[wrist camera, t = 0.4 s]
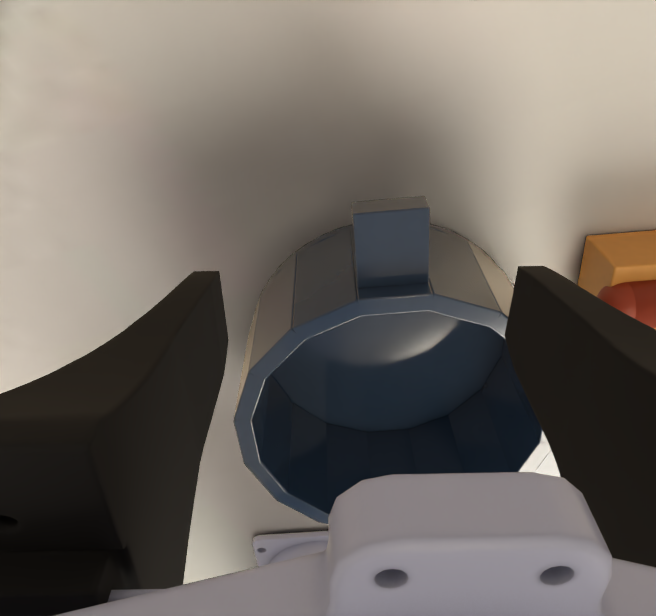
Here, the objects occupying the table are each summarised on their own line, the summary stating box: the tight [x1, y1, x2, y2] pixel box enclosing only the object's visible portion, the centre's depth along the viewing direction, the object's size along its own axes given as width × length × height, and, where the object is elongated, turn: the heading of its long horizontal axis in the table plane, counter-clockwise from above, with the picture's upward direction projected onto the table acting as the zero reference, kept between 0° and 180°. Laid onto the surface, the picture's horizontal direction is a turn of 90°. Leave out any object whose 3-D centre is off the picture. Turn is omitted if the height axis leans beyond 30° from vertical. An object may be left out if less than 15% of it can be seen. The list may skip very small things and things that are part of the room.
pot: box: [234, 196, 551, 524], centre depth 24 cm, size 12×18×6 cm
